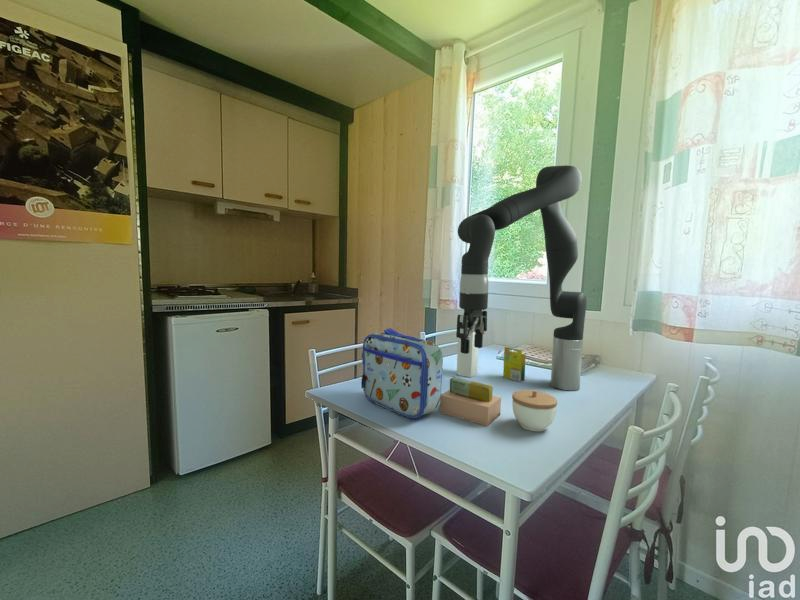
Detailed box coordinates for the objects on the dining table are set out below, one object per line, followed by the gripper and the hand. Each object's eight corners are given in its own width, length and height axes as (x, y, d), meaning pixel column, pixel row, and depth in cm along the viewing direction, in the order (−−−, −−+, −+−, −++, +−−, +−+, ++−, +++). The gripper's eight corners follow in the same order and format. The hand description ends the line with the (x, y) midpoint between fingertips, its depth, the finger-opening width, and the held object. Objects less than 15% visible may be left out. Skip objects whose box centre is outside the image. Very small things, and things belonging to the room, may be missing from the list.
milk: (463, 371, 139) (465, 316, 137) (477, 374, 135) (479, 317, 134) (456, 374, 134) (458, 317, 132) (471, 377, 130) (473, 319, 129)
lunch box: (353, 398, 107) (354, 326, 106) (379, 390, 115) (380, 323, 113) (420, 428, 88) (422, 341, 86) (445, 416, 95) (448, 336, 93)
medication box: (448, 392, 100) (449, 378, 99) (453, 389, 102) (453, 376, 101) (488, 402, 92) (489, 388, 92) (493, 399, 95) (493, 385, 94)
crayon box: (524, 380, 128) (526, 349, 127) (520, 382, 126) (522, 350, 125) (507, 375, 134) (508, 345, 133) (502, 377, 132) (504, 346, 131)
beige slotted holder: (454, 402, 105) (455, 386, 105) (500, 414, 97) (501, 397, 96) (439, 412, 98) (440, 394, 97) (487, 426, 90) (488, 407, 89)
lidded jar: (503, 425, 90) (505, 390, 90) (522, 414, 98) (524, 381, 97) (544, 440, 83) (546, 401, 82) (562, 426, 90) (564, 391, 89)
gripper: (472, 289, 102) (470, 344, 104) (448, 291, 91) (447, 353, 93) (497, 290, 98) (494, 347, 100) (475, 293, 87) (473, 357, 88)
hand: (471, 350), depth 96 cm, fingers open, 8 cm apart
